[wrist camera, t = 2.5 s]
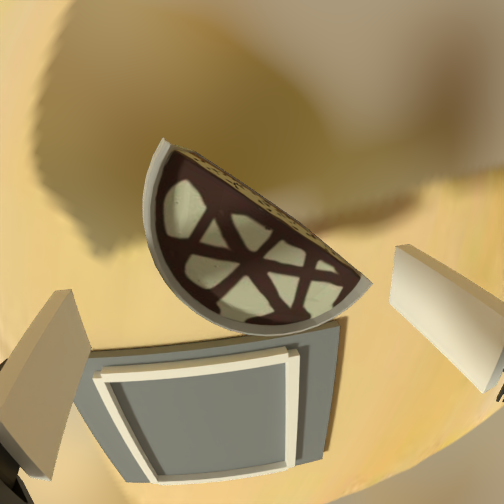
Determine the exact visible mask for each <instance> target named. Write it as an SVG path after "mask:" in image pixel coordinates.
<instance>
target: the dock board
mask: <svg viewBox="0 0 504 504" xmlns="http://www.w3.org/2000/svg"><path fill="white" fill-rule="evenodd" d="M339 334H340V325H339V324H338V322H337V321H336V320H335V321H330V322H325V323H323V324H321V325H319V326H317V327H314V328H311V329H308V330H305V331H302V332H298V333H293V334H288V335H280V336H257V335H249V336H243V337H236V338H229V339H221V340H214V341H206V342H197V343H189V344H180V345H170V346H160V347H149V348H137V349H124V350H109V351H91V352H90V354H89V356H88V359H87V362H86V365H85V367H84V370H83V373H82V376H81V379H80V382H79V385H78V388H77V391H76V394H75V397H74V400H73V402H74V404H75V405H76V407H77V409H78V411H79V412H80V414H81V416H82V417H83V419H84V421H85V422H86V424H87V426H88V427H89V429H90V431H91V432H92V434H93V435H94V437H95V439H96V440H97V442H98V443H99V445H100V446H101V448H102V449H103V451H104V452H105V454H106V455H107V456H108V458H109V459H110V461H111V462H112V464H113V465H114V466H115V468H116V469H117V470H118V472H119V473H120V474H121V476H122V477H123V478H124V480H125V481H126V482H133V483H151V484H160V485H180V484H196V483H208V482H218V481H227V480H234V479H242V478H248V477H254V476H260V475H266V474H271V473H276V472H281V471H286V470H287V468H292V467H295V466H296V465H300V464H305V463H309V462H313V461H317V460H320V459H322V457H323V452H324V446H325V440H326V435H327V428H328V422H329V416H330V409H331V402H332V395H333V388H334V380H335V372H336V363H337V354H338V344H339Z"/></svg>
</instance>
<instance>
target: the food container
mask: <svg viewBox="0 0 504 504" xmlns="http://www.w3.org/2000/svg"><path fill="white" fill-rule="evenodd" d="M143 222H144V227H145V233H146V238H147V243H148V247H149V250H150V253H151V255H152V258H153V261H154V263H155V266H156V268H157V269H158V271H159V273H160V275H161V276H162V278H163V280H164V281H165V283H166V284H167V285H168V287H169V288H170V289H171V290H172V292H173V293H174V294H175V295H176V296H177V297H178V298H179V299H180V300H181V301H182V302H183V303H184V304H185V305H187V306H188V307H189V308H190V309H191V310H192V311H194V312H195V313H197V314H198V315H200V316H201V317H203V318H205V319H206V320H208V321H210V322H211V323H213V324H215V325H218V326H220V327H223V328H225V329H228V330H230V331H234V332H239V333H243V334H247V335H257V336H280V335H288V334H293V333H298V332H302V331H305V330H308V329H311V328H314V327H317V326H319V325H321V324H323V323H325V322H327V321H329V320H331V319H333V318H335V317H336V316H338V315H339V314H341V313H342V312H344V311H345V310H347V309H348V308H349V307H351V306H352V305H353V304H354V303H355V302H356V301H357V300H358V299H359V298H361V297H362V296H363V295H364V293H365V292H366V291H367V290H368V289H369V288H370V287H371V285H372V284H373V283H372V282H370V280H369V279H368V278H366V277H365V276H364V275H363V274H362V273H361V272H360V271H358V270H357V269H355V268H354V267H353V266H352V265H351V264H349V263H348V262H347V261H346V260H345V259H344V258H342V257H341V256H340V255H339V254H338V253H336V252H335V251H334V250H333V249H332V248H330V247H329V246H328V245H327V244H326V243H324V242H323V241H322V240H321V239H319V238H318V237H317V236H316V235H315V234H313V233H312V232H311V231H310V230H308V229H307V228H306V227H305V226H304V225H302V224H301V223H300V222H299V221H297V220H296V219H294V218H293V217H292V216H290V215H289V214H287V213H286V212H284V211H283V210H281V209H280V208H278V207H277V206H276V205H274V204H273V203H272V202H270V201H268V200H267V199H266V198H264V197H263V196H261V195H260V194H258V193H257V192H256V191H254V190H253V189H251V188H250V187H248V186H247V185H245V184H244V183H242V182H240V181H239V180H238V179H236V178H235V177H233V176H232V175H230V174H229V173H227V172H226V171H224V170H223V169H221V168H220V167H218V166H217V165H215V164H214V163H212V162H211V161H209V160H207V159H206V158H204V157H203V156H201V155H200V154H198V153H197V152H195V151H193V150H190V149H187V148H184V147H180V146H176V145H173V144H170V143H169V142H168V141H167V140H166V139H165V138H162V140H161V142H160V144H159V146H158V147H157V149H156V151H155V153H154V155H153V157H152V160H151V163H150V166H149V169H148V172H147V176H146V180H145V186H144V192H143Z"/></svg>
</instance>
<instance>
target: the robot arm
mask: <svg viewBox="0 0 504 504" xmlns="http://www.w3.org/2000/svg"><path fill="white" fill-rule="evenodd" d="M389 304H390V305H391V306H393V307H394V308H395V309H396V310H397V311H398V312H399V313H400V314H401V315H402V316H403V317H405V318H406V319H407V320H408V321H409V322H410V323H411V324H412V325H413V326H414V327H415V328H416V329H417V330H418V331H419V332H421V333H422V334H423V335H424V336H425V337H426V338H427V339H428V340H429V341H430V342H431V343H432V344H433V345H434V346H435V347H436V348H437V349H438V350H439V351H440V352H441V353H442V354H443V355H445V356H446V357H447V358H448V359H449V360H450V361H451V362H452V363H453V364H454V365H455V366H456V367H457V368H458V369H459V370H460V371H461V372H462V373H463V374H464V375H465V376H466V377H467V378H468V379H469V380H470V381H471V382H472V383H473V384H474V385H475V386H476V387H477V388H478V389H479V390H480V391H481V393H482V394H483V393H485V392H487V391H488V390H490V389H491V388H493V387H495V386H496V385H497V383H498V381H499V379H500V376H501V374H502V372H504V302H502V301H501V300H499V299H498V298H496V297H495V296H493V295H492V294H490V293H489V292H487V291H486V290H484V289H483V288H481V287H480V286H478V285H476V284H475V283H473V282H472V281H470V280H469V279H467V278H465V277H464V276H462V275H461V274H459V273H457V272H456V271H454V270H452V269H451V268H449V267H447V266H446V265H444V264H442V263H441V262H439V261H437V260H436V259H434V258H432V257H431V256H429V255H427V254H426V253H424V252H422V251H420V250H419V249H417V248H415V247H413V246H412V245H410V244H407V245H400V246H395V257H394V266H393V275H392V283H391V291H390V298H389ZM91 348H92V347H91V345H90V342H89V340H88V337H87V334H86V332H85V329H84V326H83V323H82V320H81V317H80V314H79V311H78V308H77V305H76V302H75V299H74V296H73V293H72V289H68V290H59V291H55V292H54V293H53V294H52V296H51V297H50V298H49V300H48V301H47V302H46V304H45V305H44V307H43V308H42V309H41V311H40V312H39V313H38V315H37V316H36V318H35V319H34V321H33V322H32V323H31V325H30V326H29V328H28V329H27V331H26V332H25V334H24V335H23V337H22V338H21V340H20V341H19V343H18V344H17V346H16V347H15V349H14V350H13V352H12V353H11V355H10V357H9V358H8V359H6V360H5V361H4V362H2V363H1V364H0V504H34V502H33V500H32V498H31V497H30V495H29V493H28V491H27V489H26V487H25V485H24V483H23V481H22V480H21V479H20V477H19V476H18V475H17V474H18V471H19V468H20V467H21V468H22V469H23V470H24V471H25V472H26V473H27V474H28V475H29V477H31V478H35V479H41V480H47V481H51V480H52V476H53V471H54V467H55V463H56V459H57V455H58V451H59V447H60V444H61V440H62V436H63V433H64V429H65V425H66V422H67V419H68V415H69V412H70V409H71V406H72V403H73V400H74V397H75V394H76V391H77V388H78V385H79V382H80V379H81V376H82V373H83V370H84V367H85V365H86V362H87V359H88V356H89V354H90V351H91ZM503 394H504V384H503V386H502V388H501V390H500V392H499V394H498V396H497V400H496V401H497V402H499V400H500V398H501V397H502V395H503ZM502 402H504V399H503V401H502Z"/></svg>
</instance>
